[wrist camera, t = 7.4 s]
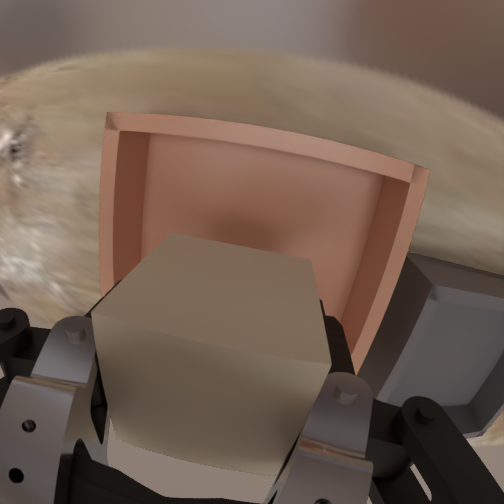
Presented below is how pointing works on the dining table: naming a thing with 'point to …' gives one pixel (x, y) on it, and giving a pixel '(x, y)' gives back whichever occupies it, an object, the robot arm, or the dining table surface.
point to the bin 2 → (442, 342)
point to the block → (213, 353)
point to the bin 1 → (262, 205)
